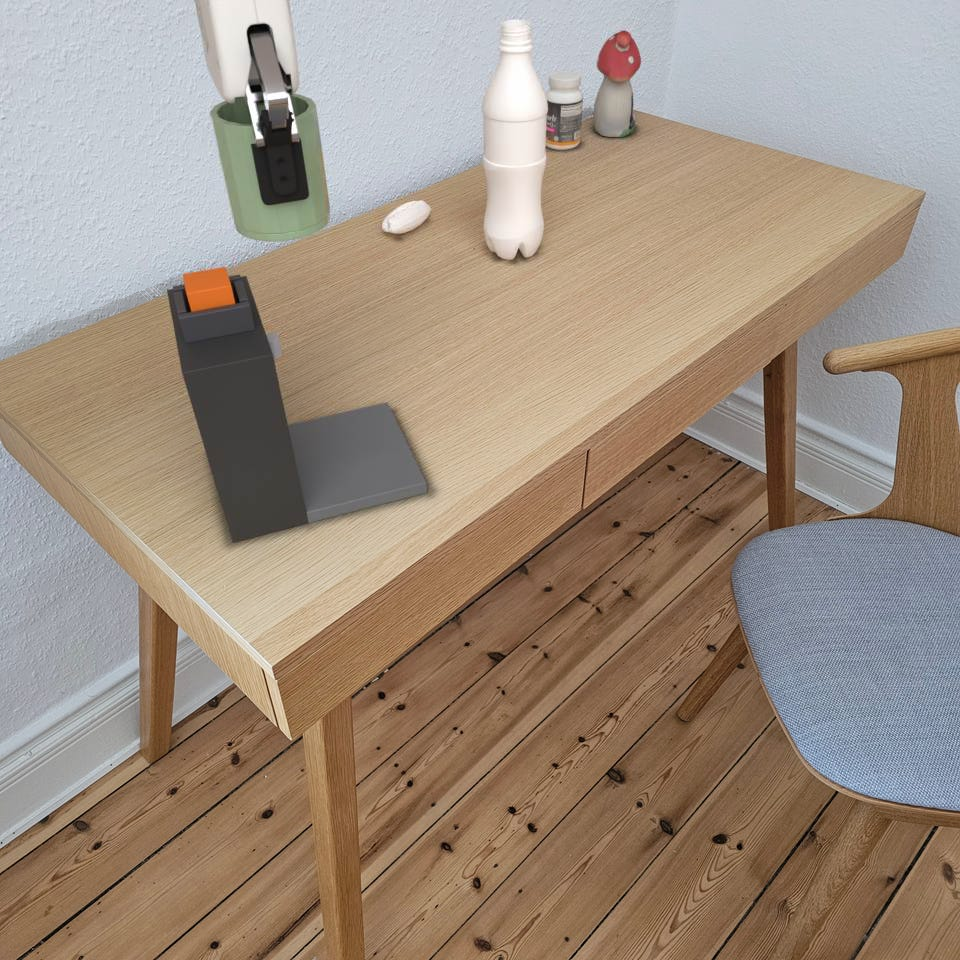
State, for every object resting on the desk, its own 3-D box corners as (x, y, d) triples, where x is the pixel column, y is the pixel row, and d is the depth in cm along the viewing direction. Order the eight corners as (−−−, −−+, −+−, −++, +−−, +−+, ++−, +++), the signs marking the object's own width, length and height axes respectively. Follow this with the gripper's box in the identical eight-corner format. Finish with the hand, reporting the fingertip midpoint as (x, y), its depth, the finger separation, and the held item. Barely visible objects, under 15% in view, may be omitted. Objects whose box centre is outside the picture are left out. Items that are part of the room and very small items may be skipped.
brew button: (194, 322, 59) (186, 293, 57) (189, 301, 61) (182, 273, 59) (237, 313, 60) (231, 285, 58) (232, 294, 62) (225, 266, 60)
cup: (243, 248, 59) (218, 132, 54) (228, 210, 64) (203, 99, 59) (340, 231, 61) (325, 117, 56) (318, 195, 66) (303, 87, 61)
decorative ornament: (626, 143, 129) (636, 35, 119) (584, 138, 131) (591, 31, 121) (640, 123, 135) (651, 19, 126) (600, 118, 137) (608, 16, 127)
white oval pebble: (379, 236, 107) (376, 215, 105) (418, 213, 111) (416, 192, 110) (398, 242, 105) (396, 221, 103) (437, 219, 110) (436, 198, 108)
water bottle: (508, 232, 107) (509, 11, 90) (554, 248, 103) (565, 21, 87) (471, 253, 103) (466, 25, 86) (518, 270, 99) (522, 36, 83)
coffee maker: (232, 543, 66) (174, 347, 55) (213, 452, 75) (159, 265, 63) (427, 493, 70) (412, 300, 59) (388, 412, 79) (368, 229, 67)
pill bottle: (536, 141, 130) (537, 72, 124) (568, 135, 132) (572, 66, 125) (554, 153, 126) (556, 83, 120) (587, 147, 128) (591, 77, 122)
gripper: (142, -134, 54) (206, 147, 66) (170, -98, 42) (242, 239, 54) (260, -141, 56) (301, 133, 68) (319, -108, 44) (357, 219, 56)
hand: (274, 178), depth 61 cm, fingers closed on cup, 7 cm apart
